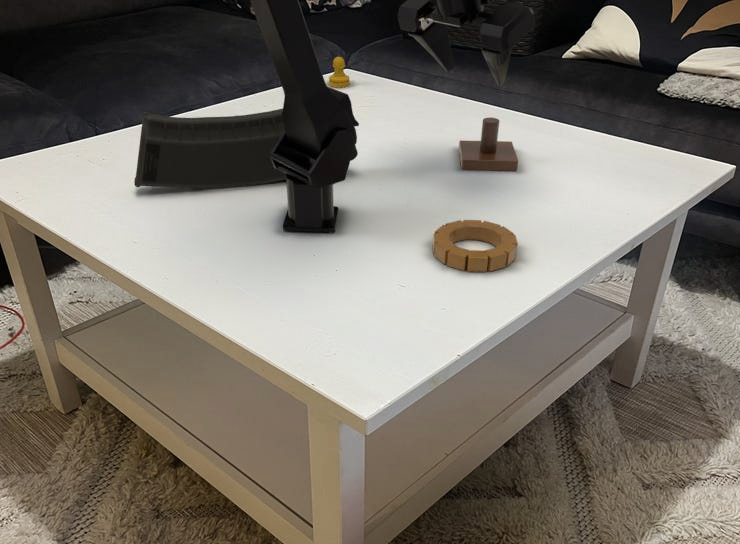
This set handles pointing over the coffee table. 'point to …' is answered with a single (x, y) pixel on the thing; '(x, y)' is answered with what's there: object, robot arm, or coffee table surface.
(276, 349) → the coffee table surface
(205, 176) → the magazine
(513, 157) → the post
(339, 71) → the chess piece
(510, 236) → the ring
